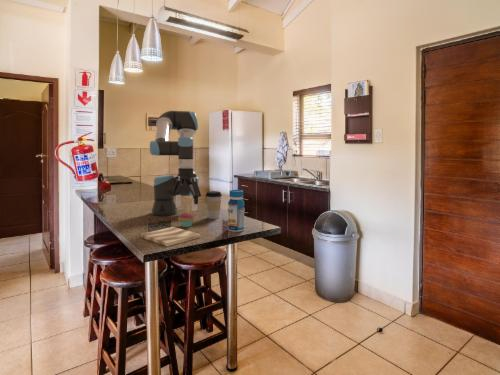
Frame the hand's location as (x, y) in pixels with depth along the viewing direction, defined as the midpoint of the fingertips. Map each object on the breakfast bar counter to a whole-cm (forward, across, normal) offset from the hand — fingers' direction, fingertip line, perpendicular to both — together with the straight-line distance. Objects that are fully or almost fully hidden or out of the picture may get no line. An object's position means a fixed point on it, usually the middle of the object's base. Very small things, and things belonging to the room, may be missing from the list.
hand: (186, 208), depth 167 cm
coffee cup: (+9, -4, +23) cm, 25 cm away
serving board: (+10, +11, -18) cm, 23 cm away
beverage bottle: (+10, +24, +12) cm, 28 cm away
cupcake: (+9, 0, 0) cm, 9 cm away
